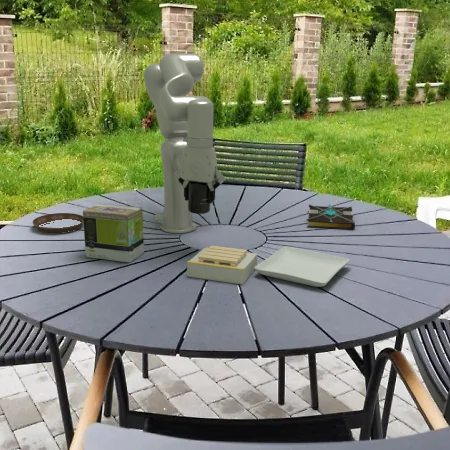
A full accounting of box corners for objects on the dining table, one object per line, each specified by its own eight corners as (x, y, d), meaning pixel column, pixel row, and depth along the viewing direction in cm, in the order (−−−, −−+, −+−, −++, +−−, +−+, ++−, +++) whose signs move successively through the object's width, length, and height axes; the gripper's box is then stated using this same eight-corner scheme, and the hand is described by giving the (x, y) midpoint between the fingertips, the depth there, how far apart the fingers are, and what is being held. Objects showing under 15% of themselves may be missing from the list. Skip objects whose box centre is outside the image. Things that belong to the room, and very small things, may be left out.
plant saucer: (89, 232, 196) (88, 224, 195) (35, 238, 190) (34, 229, 189) (81, 219, 212) (81, 211, 211) (31, 223, 205) (30, 215, 204)
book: (354, 231, 201) (355, 218, 200) (306, 229, 204) (306, 215, 202) (351, 215, 222) (352, 202, 220) (307, 212, 224) (308, 200, 223)
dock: (187, 276, 159) (187, 257, 157) (205, 259, 172) (205, 242, 170) (242, 284, 154) (242, 265, 152) (256, 266, 167) (257, 248, 165)
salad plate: (324, 294, 149) (325, 282, 148) (252, 278, 159) (252, 266, 158) (350, 269, 167) (351, 257, 166) (283, 255, 177) (284, 245, 176)
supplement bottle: (207, 215, 171) (208, 176, 168) (185, 213, 173) (185, 174, 169) (212, 208, 178) (213, 170, 174) (191, 206, 179) (191, 169, 175)
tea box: (145, 253, 177) (143, 206, 172) (129, 264, 168) (127, 215, 163) (102, 247, 181) (99, 201, 177) (84, 257, 172) (81, 210, 168)
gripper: (167, 142, 168) (168, 201, 173) (223, 147, 162) (222, 207, 168) (177, 138, 174) (177, 194, 180) (232, 143, 169) (230, 201, 175)
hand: (199, 200), depth 174 cm, fingers closed on supplement bottle, 6 cm apart
